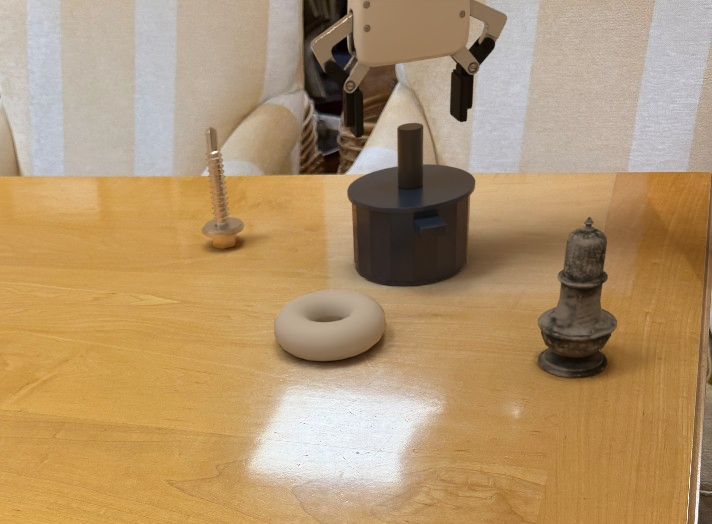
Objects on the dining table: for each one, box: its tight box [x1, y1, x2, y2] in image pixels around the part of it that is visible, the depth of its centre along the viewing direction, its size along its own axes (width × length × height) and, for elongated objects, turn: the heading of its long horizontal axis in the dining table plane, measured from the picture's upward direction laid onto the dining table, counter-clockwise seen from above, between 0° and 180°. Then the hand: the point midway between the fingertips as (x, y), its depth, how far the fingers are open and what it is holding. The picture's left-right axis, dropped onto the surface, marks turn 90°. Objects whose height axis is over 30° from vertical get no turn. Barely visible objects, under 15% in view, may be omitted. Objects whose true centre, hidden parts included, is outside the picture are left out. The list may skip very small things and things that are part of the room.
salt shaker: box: [537, 216, 618, 379], centre depth 70 cm, size 6×6×12 cm
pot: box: [351, 195, 471, 287], centre depth 91 cm, size 11×17×8 cm
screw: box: [201, 126, 245, 250], centre depth 100 cm, size 13×5×5 cm
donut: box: [273, 288, 387, 362], centre depth 81 cm, size 10×4×10 cm
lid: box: [346, 122, 476, 213], centre depth 87 cm, size 12×12×7 cm
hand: (407, 126), depth 85 cm, fingers open, 9 cm apart
